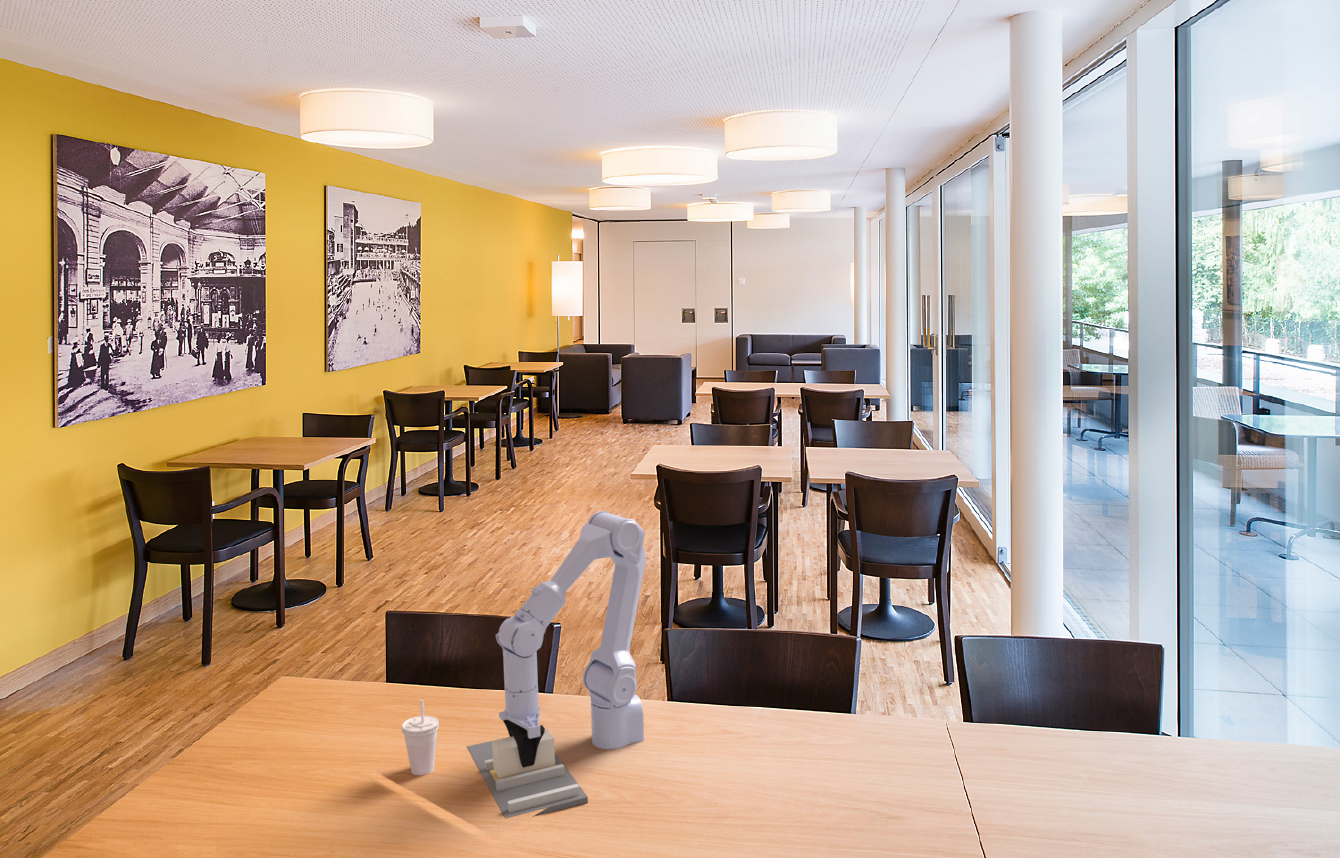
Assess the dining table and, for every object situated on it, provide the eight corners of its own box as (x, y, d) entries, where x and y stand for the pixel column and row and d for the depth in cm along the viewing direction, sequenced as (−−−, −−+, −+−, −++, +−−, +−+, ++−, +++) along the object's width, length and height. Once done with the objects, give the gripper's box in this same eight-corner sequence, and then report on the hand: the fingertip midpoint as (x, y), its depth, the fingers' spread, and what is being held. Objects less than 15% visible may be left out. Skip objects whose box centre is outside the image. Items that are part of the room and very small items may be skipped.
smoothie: (431, 785, 158) (427, 709, 156) (397, 782, 159) (393, 706, 157) (447, 767, 164) (443, 693, 162) (414, 764, 165) (410, 691, 164)
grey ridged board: (539, 735, 176) (538, 723, 176) (587, 802, 152) (587, 788, 151) (467, 751, 170) (466, 738, 170) (505, 824, 146) (505, 809, 145)
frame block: (548, 755, 164) (547, 729, 163) (555, 765, 160) (554, 738, 160) (493, 768, 160) (492, 741, 159) (499, 778, 156) (498, 751, 156)
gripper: (488, 675, 163) (491, 747, 165) (510, 706, 150) (513, 784, 152) (526, 668, 166) (528, 738, 168) (551, 698, 153) (553, 774, 155)
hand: (524, 759), depth 160 cm, fingers closed on frame block, 4 cm apart
